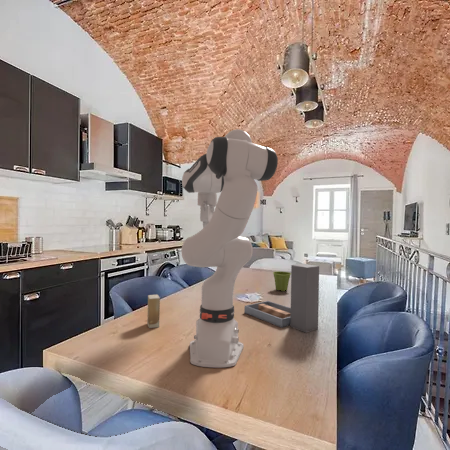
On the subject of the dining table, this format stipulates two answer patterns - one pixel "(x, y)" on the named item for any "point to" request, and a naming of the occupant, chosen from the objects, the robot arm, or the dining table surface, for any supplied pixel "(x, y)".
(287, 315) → the rectangular block
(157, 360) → the dining table surface
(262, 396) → the dining table surface
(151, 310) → the skincare box
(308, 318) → the post
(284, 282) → the plant pot
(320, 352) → the dining table surface
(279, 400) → the dining table surface
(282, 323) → the tray
